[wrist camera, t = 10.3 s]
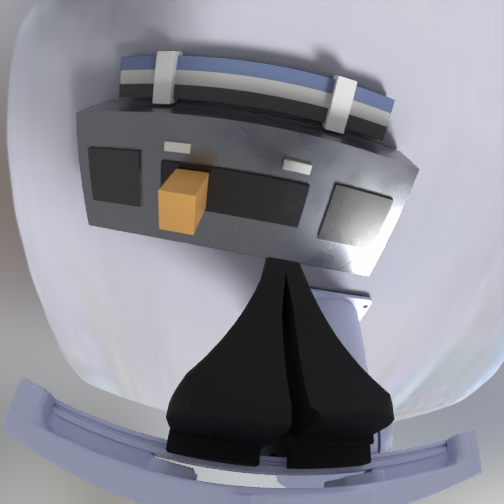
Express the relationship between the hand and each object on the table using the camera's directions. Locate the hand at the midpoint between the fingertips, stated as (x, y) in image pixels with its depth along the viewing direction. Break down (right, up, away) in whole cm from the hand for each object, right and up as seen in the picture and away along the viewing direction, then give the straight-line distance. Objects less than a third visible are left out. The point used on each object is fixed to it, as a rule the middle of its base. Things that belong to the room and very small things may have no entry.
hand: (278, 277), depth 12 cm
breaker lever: (-5, +5, +5) cm, 8 cm away
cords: (-1, +12, +4) cm, 12 cm away
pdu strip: (-2, +7, +8) cm, 11 cm away
